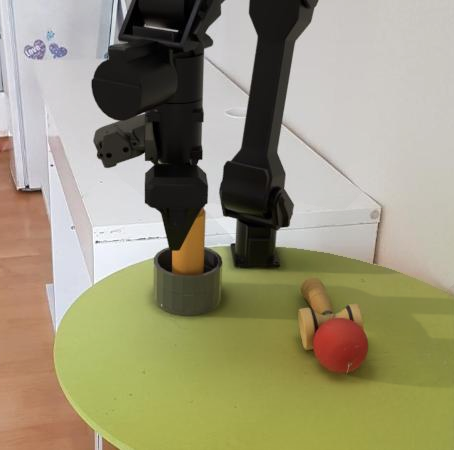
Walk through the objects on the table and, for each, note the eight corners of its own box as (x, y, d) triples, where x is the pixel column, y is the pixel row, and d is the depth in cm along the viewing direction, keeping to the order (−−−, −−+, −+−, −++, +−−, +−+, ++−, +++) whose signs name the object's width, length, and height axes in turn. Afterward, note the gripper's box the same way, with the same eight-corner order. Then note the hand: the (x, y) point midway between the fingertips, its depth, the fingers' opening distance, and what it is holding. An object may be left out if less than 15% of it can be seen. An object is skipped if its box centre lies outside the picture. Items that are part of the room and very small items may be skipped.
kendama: (275, 308, 97) (304, 377, 80) (286, 263, 96) (319, 324, 79) (332, 317, 99) (373, 387, 81) (344, 272, 97) (389, 334, 80)
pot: (153, 281, 100) (153, 244, 98) (218, 280, 101) (219, 244, 99) (153, 316, 93) (153, 277, 90) (223, 315, 93) (224, 277, 91)
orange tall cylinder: (179, 283, 99) (180, 199, 94) (207, 289, 98) (210, 205, 92) (166, 297, 95) (167, 212, 90) (196, 304, 94) (198, 217, 89)
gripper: (103, 72, 86) (106, 197, 93) (89, 123, 69) (95, 272, 76) (200, 73, 87) (197, 198, 93) (210, 124, 70) (205, 271, 76)
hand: (173, 231), depth 85 cm, fingers open, 9 cm apart
